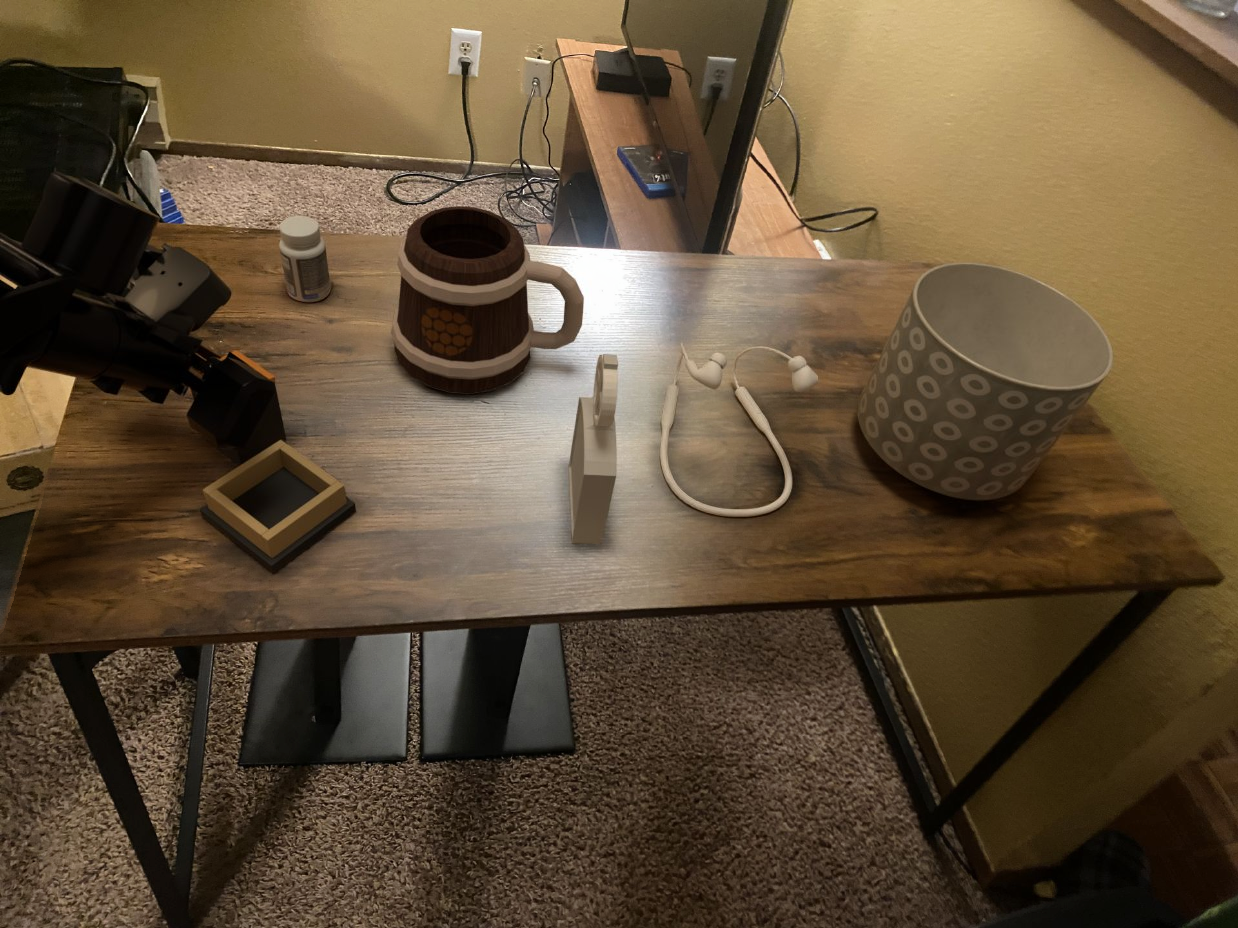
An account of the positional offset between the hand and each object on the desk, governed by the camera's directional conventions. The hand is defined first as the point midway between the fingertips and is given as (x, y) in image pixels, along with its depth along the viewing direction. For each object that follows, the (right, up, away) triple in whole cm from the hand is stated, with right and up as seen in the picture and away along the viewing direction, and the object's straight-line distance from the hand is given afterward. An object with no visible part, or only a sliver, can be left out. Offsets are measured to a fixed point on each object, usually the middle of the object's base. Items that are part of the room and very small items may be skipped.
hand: (247, 381), depth 75 cm
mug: (+19, +4, +17) cm, 26 cm away
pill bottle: (-2, +12, +20) cm, 24 cm away
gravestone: (+30, -11, +5) cm, 32 cm away
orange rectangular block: (-2, -5, +4) cm, 7 cm away
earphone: (+44, -6, +13) cm, 46 cm away
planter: (+68, -6, +17) cm, 70 cm away
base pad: (+4, -12, -1) cm, 12 cm away
